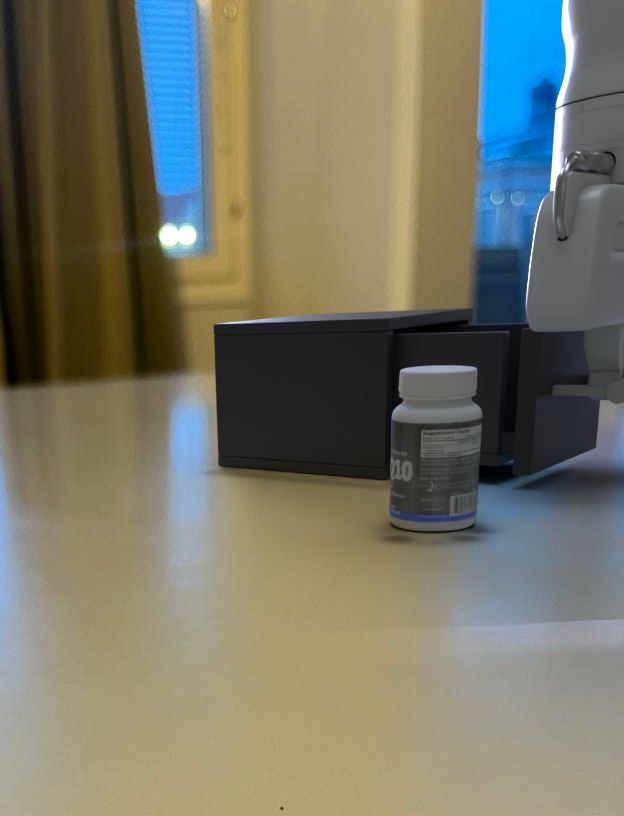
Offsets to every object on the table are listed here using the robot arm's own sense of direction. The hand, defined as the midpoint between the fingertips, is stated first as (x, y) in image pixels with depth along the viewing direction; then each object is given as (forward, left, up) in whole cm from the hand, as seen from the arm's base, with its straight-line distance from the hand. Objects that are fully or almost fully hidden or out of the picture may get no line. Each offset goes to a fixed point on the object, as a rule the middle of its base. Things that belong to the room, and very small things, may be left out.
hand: (610, 397), depth 63 cm
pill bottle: (+17, -4, -5) cm, 18 cm away
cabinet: (0, -20, -5) cm, 20 cm away
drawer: (0, -7, -4) cm, 8 cm away
